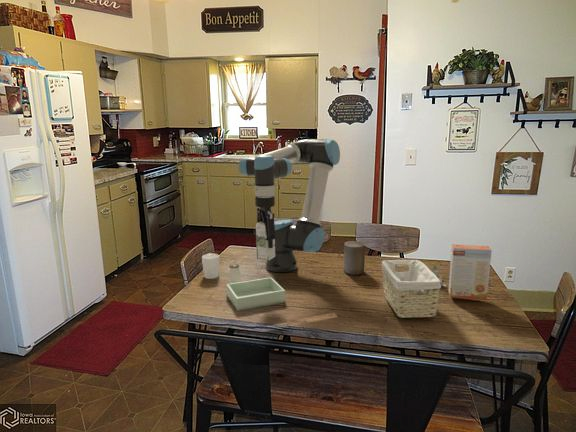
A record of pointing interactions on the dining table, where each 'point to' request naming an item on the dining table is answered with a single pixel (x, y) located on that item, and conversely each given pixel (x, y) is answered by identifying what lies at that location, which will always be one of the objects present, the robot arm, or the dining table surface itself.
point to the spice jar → (234, 273)
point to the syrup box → (262, 242)
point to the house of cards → (437, 275)
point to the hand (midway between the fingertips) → (266, 252)
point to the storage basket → (411, 288)
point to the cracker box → (469, 271)
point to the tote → (255, 293)
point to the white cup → (210, 265)
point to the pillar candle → (354, 257)
